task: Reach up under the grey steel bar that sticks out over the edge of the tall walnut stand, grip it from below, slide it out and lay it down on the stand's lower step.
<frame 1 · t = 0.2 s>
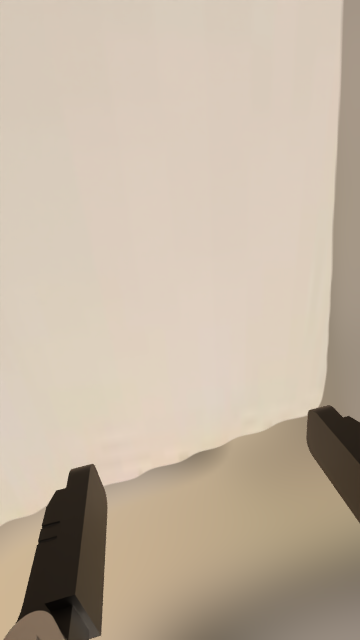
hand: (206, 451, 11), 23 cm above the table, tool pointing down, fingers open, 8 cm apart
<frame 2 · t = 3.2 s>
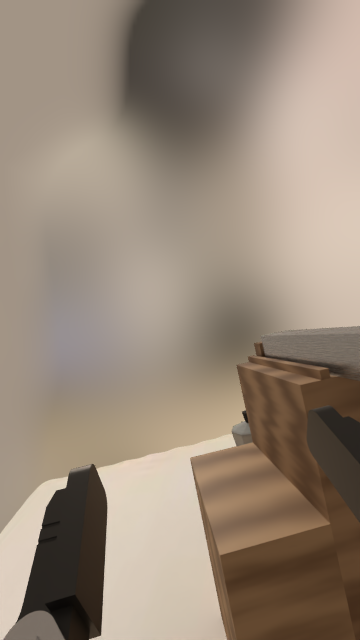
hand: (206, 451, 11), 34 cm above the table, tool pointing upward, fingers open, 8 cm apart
steel bar: (334, 368, 27), point 32 cm above the table, touching stand
coffee maker: (266, 495, 63), on the table
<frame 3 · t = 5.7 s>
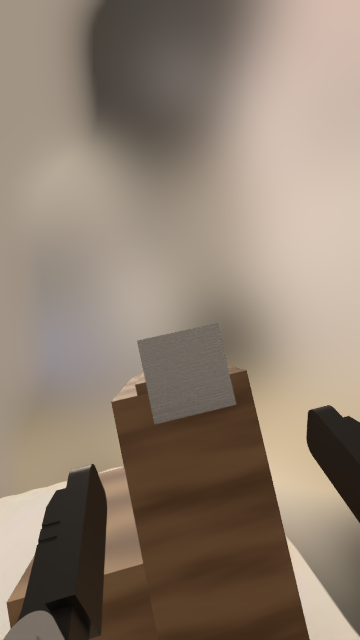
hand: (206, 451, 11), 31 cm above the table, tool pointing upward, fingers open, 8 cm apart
steel bar: (177, 380, 24), point 32 cm above the table, touching stand
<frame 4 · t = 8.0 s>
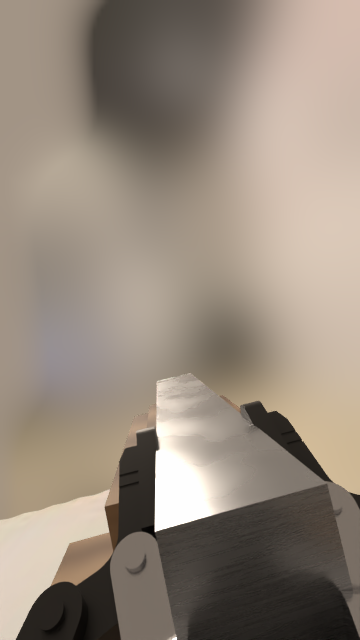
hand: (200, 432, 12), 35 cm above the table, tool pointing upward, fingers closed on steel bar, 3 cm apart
steel bar: (197, 456, 17), point 32 cm above the table, touching gripper, stand
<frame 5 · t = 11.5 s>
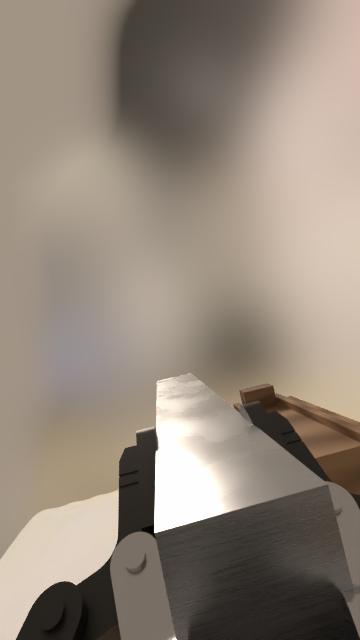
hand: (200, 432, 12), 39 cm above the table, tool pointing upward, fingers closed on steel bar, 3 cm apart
steel bar: (197, 456, 17), point 36 cm above the table, touching gripper
when the fingers open (26 cm above the table, at t = 15.2 s): steel bar drops 1 cm, resting on stand.
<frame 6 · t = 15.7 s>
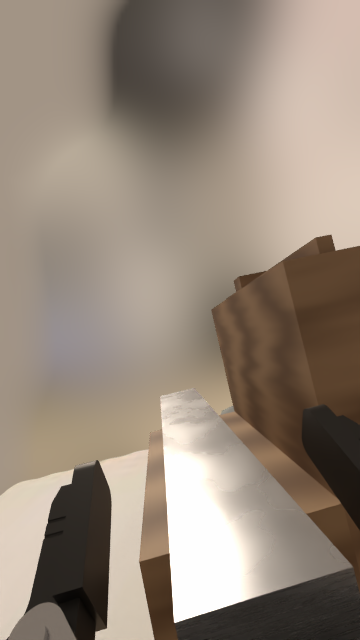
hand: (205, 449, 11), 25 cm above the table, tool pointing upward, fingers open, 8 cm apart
steel bar: (204, 483, 17), point 21 cm above the table, touching stand
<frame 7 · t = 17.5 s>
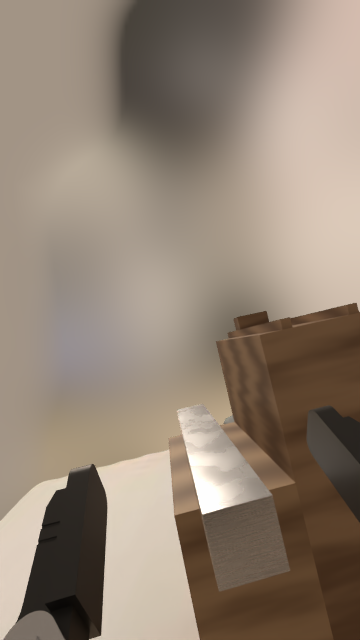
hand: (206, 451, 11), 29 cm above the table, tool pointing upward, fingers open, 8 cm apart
steel bar: (211, 473, 26), point 21 cm above the table, touching stand
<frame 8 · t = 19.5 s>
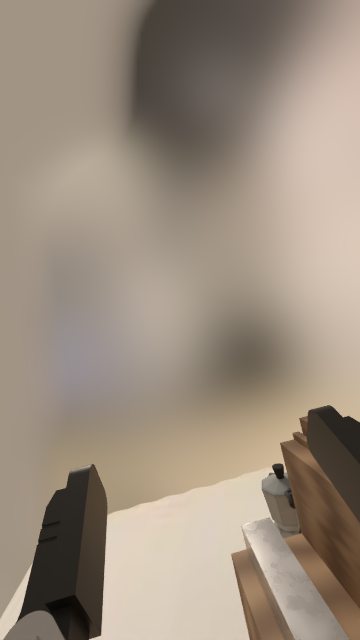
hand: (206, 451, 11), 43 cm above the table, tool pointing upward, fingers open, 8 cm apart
coffee maker: (301, 560, 58), on the table
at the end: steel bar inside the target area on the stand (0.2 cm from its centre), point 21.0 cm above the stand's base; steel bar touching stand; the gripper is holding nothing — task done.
